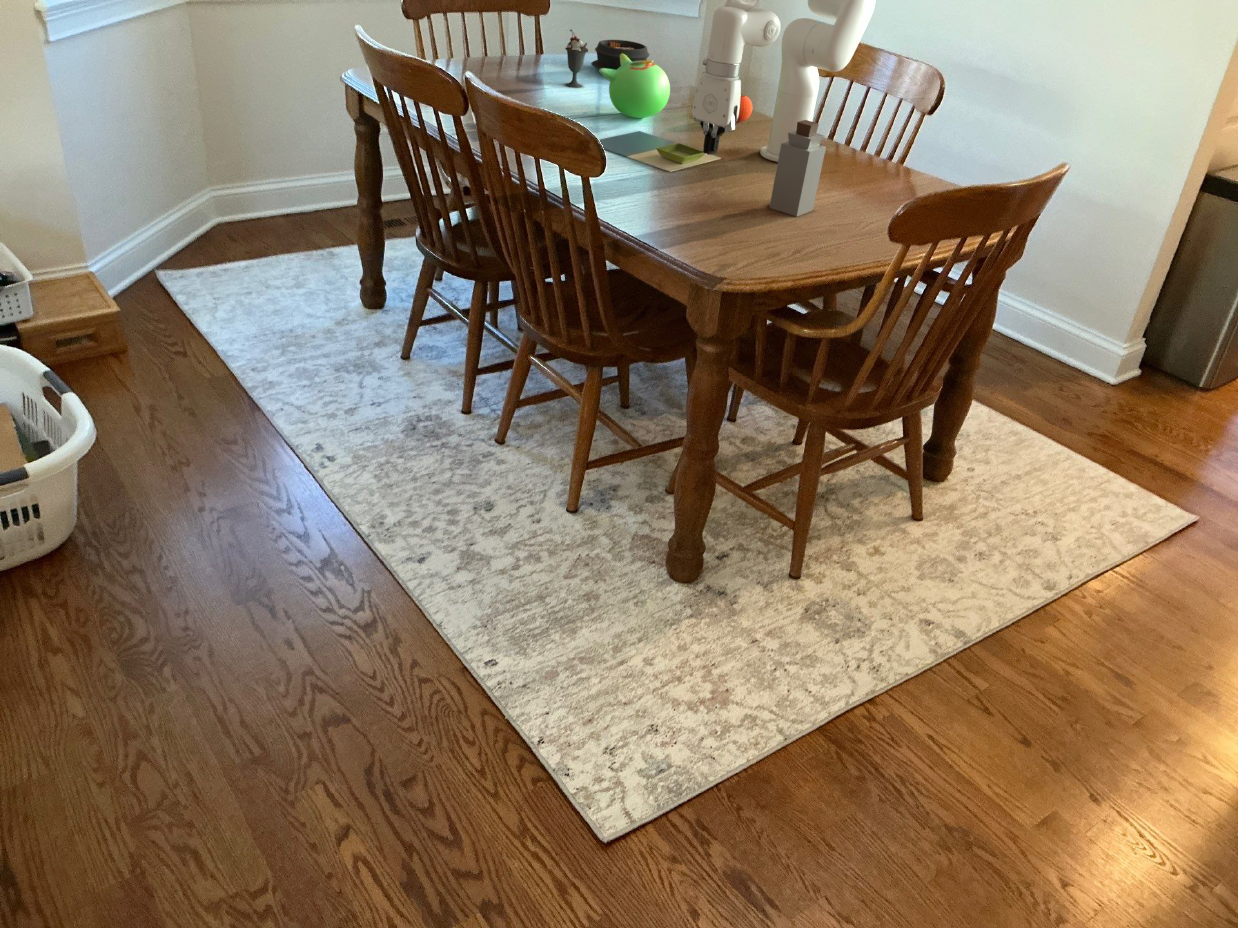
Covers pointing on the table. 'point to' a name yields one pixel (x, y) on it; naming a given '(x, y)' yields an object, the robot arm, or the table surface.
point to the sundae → (575, 58)
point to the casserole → (618, 53)
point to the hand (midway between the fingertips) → (709, 153)
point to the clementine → (744, 108)
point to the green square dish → (680, 153)
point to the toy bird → (637, 87)
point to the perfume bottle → (798, 170)
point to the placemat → (648, 150)
